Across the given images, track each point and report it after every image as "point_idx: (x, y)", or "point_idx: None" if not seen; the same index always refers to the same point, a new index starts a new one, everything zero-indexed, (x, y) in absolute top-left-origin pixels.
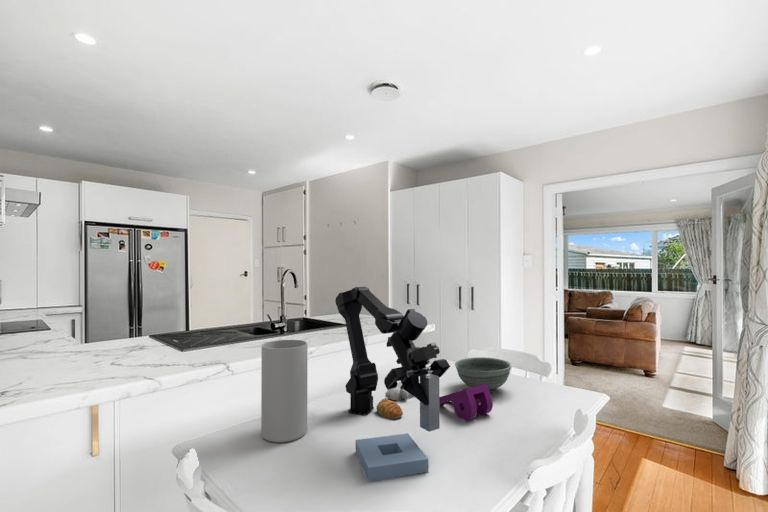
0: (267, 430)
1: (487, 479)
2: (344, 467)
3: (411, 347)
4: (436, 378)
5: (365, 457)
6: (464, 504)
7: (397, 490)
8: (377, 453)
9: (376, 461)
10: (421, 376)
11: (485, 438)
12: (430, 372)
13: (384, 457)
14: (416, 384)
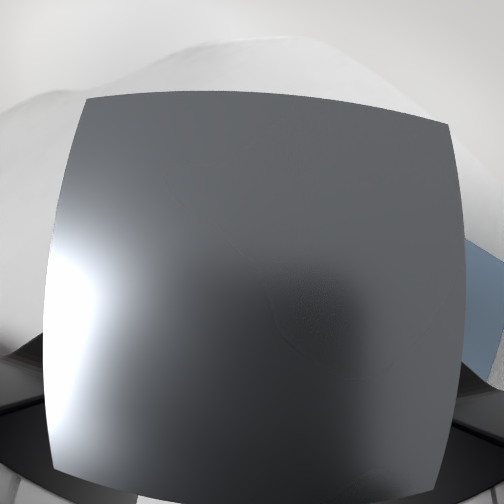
0: None
1: (244, 83)
2: (496, 370)
3: None
4: (187, 111)
5: (500, 327)
6: (367, 70)
7: (462, 198)
8: (470, 328)
9: (493, 286)
10: (444, 430)
11: (39, 238)
12: (7, 498)
13: (469, 291)
14: (464, 382)
